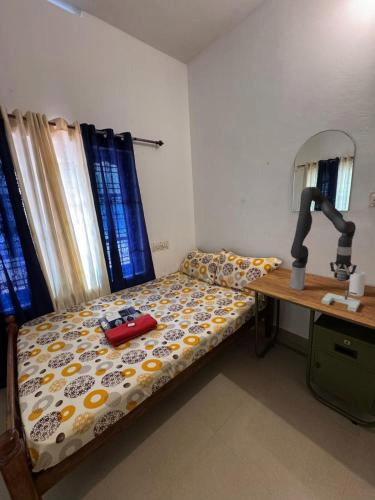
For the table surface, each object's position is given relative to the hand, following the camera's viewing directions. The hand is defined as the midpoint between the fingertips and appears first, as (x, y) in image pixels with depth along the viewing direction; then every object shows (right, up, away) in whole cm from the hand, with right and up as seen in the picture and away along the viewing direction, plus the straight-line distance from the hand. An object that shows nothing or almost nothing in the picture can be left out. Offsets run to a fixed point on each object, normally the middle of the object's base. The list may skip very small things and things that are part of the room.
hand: (341, 279), depth 139 cm
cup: (+20, -13, +14) cm, 27 cm away
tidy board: (0, -16, +1) cm, 16 cm away
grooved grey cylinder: (0, -1, 0) cm, 1 cm away
